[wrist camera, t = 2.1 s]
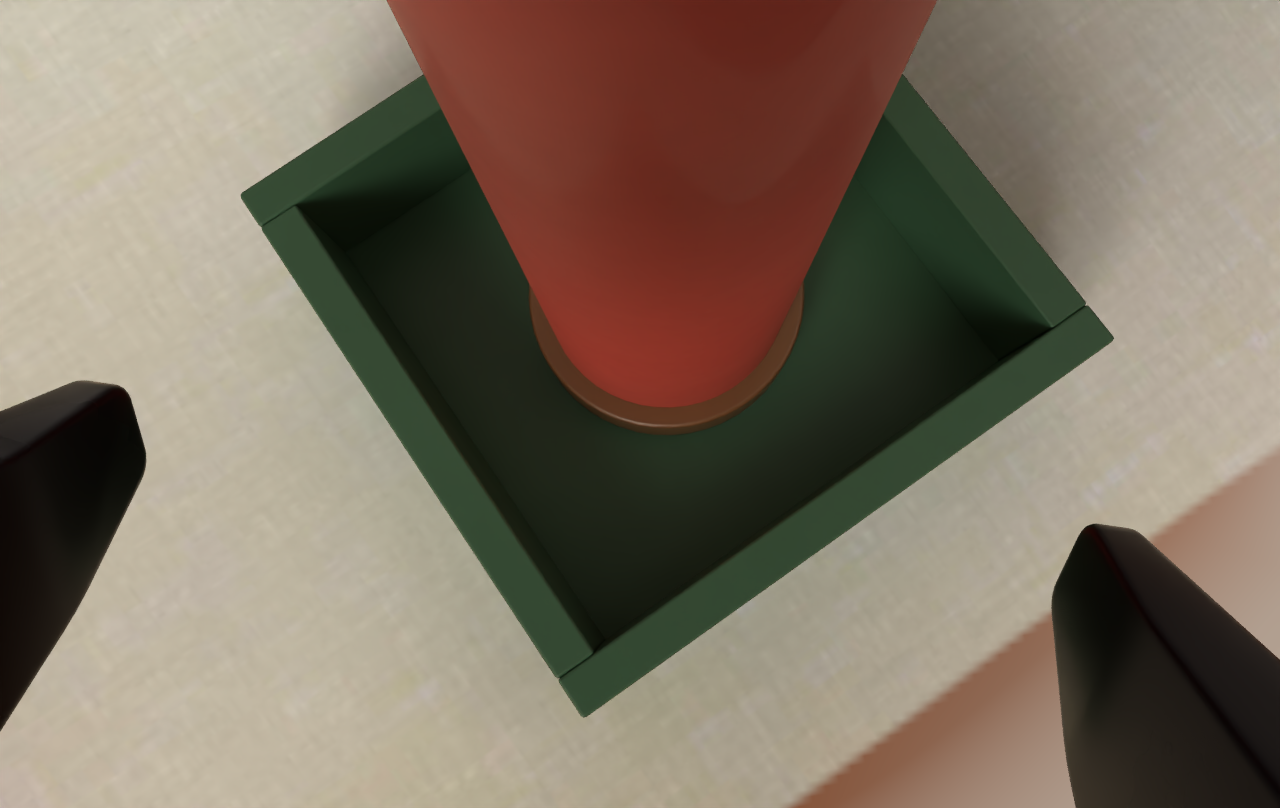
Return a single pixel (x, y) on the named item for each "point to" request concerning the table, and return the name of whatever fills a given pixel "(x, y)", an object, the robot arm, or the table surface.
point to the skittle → (664, 175)
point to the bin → (668, 464)
